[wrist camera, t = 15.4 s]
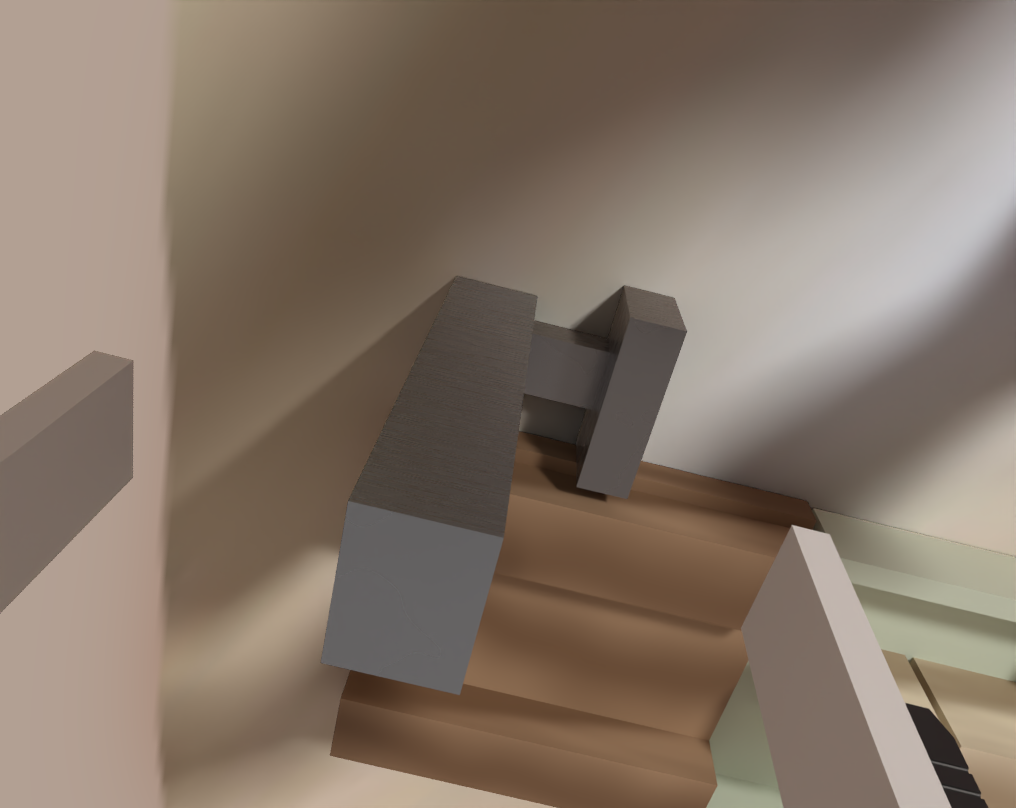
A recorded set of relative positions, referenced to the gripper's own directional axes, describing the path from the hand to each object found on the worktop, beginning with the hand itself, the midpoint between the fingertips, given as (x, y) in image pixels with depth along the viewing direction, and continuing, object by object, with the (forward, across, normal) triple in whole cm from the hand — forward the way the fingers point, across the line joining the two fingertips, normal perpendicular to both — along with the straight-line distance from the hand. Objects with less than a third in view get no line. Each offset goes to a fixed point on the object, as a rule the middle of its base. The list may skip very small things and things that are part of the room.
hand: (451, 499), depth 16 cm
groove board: (+10, +4, -11) cm, 16 cm away
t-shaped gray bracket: (+11, +2, -1) cm, 11 cm away
